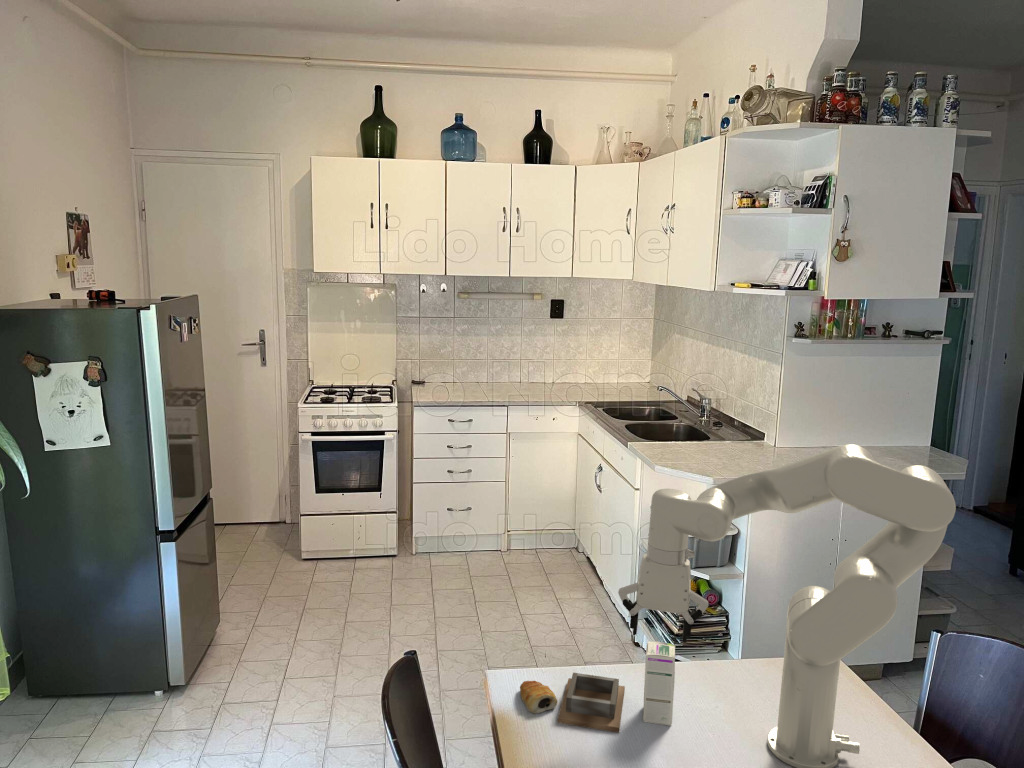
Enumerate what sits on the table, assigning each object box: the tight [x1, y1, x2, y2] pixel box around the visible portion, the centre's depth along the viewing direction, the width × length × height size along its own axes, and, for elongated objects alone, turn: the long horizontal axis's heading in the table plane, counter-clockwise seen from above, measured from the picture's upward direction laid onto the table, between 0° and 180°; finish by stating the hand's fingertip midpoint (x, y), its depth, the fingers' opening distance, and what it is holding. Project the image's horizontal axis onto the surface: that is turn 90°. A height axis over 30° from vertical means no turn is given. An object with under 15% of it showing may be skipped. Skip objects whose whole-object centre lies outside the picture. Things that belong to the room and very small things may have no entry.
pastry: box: [519, 680, 558, 714], centre depth 155 cm, size 9×7×4 cm
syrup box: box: [642, 640, 676, 727], centre depth 150 cm, size 6×6×14 cm
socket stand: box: [557, 672, 626, 733], centre depth 153 cm, size 12×15×4 cm
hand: (659, 635), depth 149 cm, fingers open, 9 cm apart
